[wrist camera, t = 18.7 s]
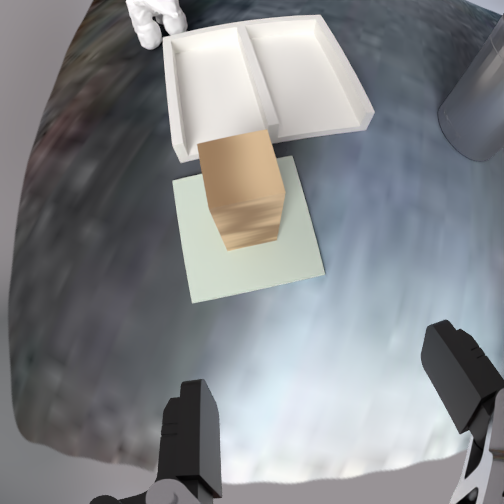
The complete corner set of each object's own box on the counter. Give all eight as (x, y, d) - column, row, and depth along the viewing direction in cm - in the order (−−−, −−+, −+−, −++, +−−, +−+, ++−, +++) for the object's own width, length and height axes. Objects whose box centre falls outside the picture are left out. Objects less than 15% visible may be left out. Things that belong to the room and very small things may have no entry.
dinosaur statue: (166, 80, 33) (138, 6, 23) (117, 19, 40) (96, -29, 30) (216, 55, 34) (200, -19, 24) (152, 2, 41) (136, -47, 31)
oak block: (265, 194, 30) (267, 129, 20) (276, 240, 29) (285, 192, 19) (218, 205, 30) (196, 143, 19) (227, 251, 29) (208, 208, 18)
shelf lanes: (317, 33, 36) (320, 14, 32) (365, 130, 32) (374, 112, 29) (168, 56, 35) (162, 37, 32) (180, 163, 32) (172, 145, 28)
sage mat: (291, 157, 32) (292, 155, 31) (324, 274, 29) (325, 274, 29) (173, 182, 31) (172, 180, 31) (193, 303, 29) (192, 302, 28)
